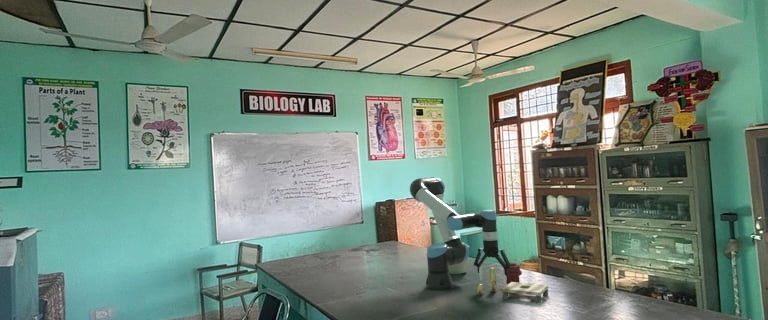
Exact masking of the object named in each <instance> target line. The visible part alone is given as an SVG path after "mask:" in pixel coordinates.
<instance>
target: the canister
mask: <svg viewBox="0 0 768 320" xmlns="http://www.w3.org/2000/svg"><path fill="white" fill-rule="evenodd" d="M465 244H466V243H465ZM466 245H467V246H468V249H470V245H469V244H466ZM468 263H469V257H468V258H467V260H466V261H465V262H462V263H460V264H454V265H450V266H449V273H450V275H462V273H463V274H465V273H466V272H468V271H467V270H468Z"/></svg>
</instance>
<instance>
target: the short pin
mask: <svg viewBox="0 0 768 320" xmlns="http://www.w3.org/2000/svg"><path fill="white" fill-rule="evenodd" d="M476 291H477V295H478V296H483V295H484V284H483V283H477V284H476Z"/></svg>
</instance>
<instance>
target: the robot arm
mask: <svg viewBox="0 0 768 320" xmlns="http://www.w3.org/2000/svg"><path fill="white" fill-rule="evenodd" d="M445 188H446V187H445V184H444V181H442V179H440V178H438V177H424V178H419V177H418V178H416V179H414V180H413V181H412V182H411V183H410V186H409V193H410V195H411V197H412V198H413V199H414V200H415V201H417V202H418V203H422V204H423V205H424V206H425V207H427V208H428V209H429V210H431V213H432V215H433V218H434V222H435V223H436V226H437V230H438V232H439V235H440V237H441V241H442V242H439V243H433V244H430V245H428V247H427V248H426V256H427V257H426V259H427V277H426V281H425V288H426V289H428V290H432V291H446V290H450V289H452V288H454V281H453V279H452V276H451V274H449V266H450V265H454V264H460V263H462V262H465V261H466V260H467V258H468V259H469V255H470V250H469V249H470V248H468V246H469V245H468V244H467V245H468V246H467V245H466V243H465V242H463V241H462V239H461V237H460V236H457V233H456V232H457V231H461V230H466V229H472V228H481V229H482V239H483V240H482V245H483V247H479V248H478V249H477V254H476V257H475V260H474V263H473V266H475V267H476V268H477V273H478V274H479V280H480V281H481V280H484V271H483V266H482V264H483V263H484V262H485V261H486V259H487V258H492V259H493V258H495V259H496V260H497V262H498V263H499V264H500V265H501V267H502V279H503V280H502V282H503V283H506V281H507V278H506V275H508V268H510V267H511V265H510V263H511V262H510V261H509V259H508V257H507V255H506V253H505V249H504V248H502V249H499V240H498V228H497V214H496V211H495V210H494V209H484V210H481V212H480V213H474V212H468V213H467V212H466V213H465V214H459V213H458V212H457V211H455V210H454V209H452V208H451V207H450V206H449V205H447V204H446V203H445V202H444V199H443V198H444V196H445V195H444V193H445V191H446V190H445ZM482 253H483V256H482ZM500 255H501V256H500ZM481 256H482V257H481ZM501 257H502V258H501Z"/></svg>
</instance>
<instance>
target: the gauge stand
mask: <svg viewBox="0 0 768 320" xmlns="http://www.w3.org/2000/svg"><path fill="white" fill-rule="evenodd" d="M501 291H502V299H503V300H508V299H509V293H511V294H512V293H513V294H520V295H530V296H535V303H536V304H542V297H548V296H549V287H548V285H546V284H540V283H539V284H537V283H526V282H520V283H519V282H511V283H509V284H508V285H505V286H504V287H503V288H502V290H501Z"/></svg>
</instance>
